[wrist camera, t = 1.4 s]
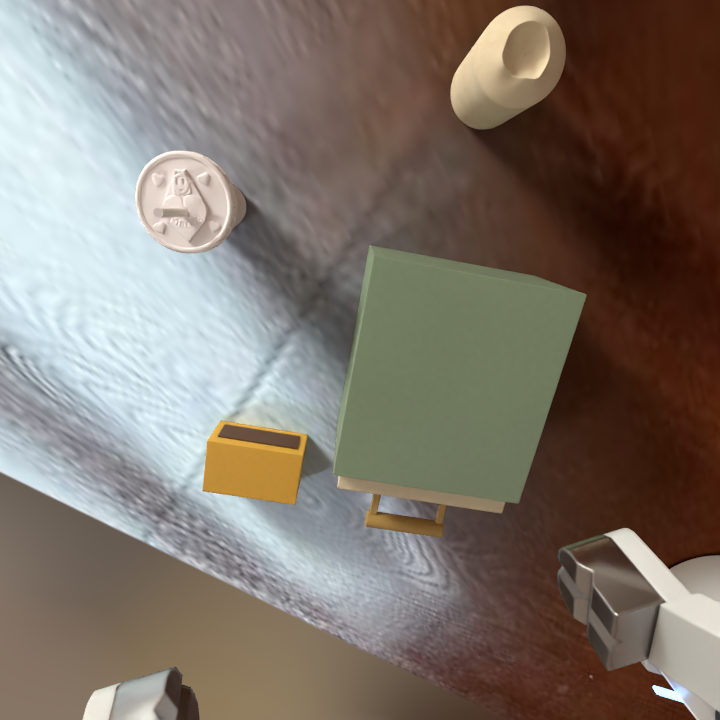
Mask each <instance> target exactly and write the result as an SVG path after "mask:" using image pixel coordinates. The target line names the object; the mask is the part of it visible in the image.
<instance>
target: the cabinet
mask: <svg viewBox="0 0 720 720" xmlns="http://www.w3.org/2000/svg"><path fill="white" fill-rule="evenodd" d="M586 296H587V295H586V294H584V293H581V292H578V291H575V290H572V289H570V288H567V287H564V286H561V285H559V284H556V283H553V282H550V281H547V280H545V279H542V278H539V277H536V276H533V275H527V274H522V273H517V272H511V271H506V270H500V269H495V268H490V267H484V266H479V265H474V264H468V263H463V262H457V261H452V260H447V259H441V258H436V257H431V256H425V255H420V254H414V253H409V252H404V251H398V250H393V249H388V248H382V247H377V246H371V245H370V247H369V252H368V258H367V263H366V269H365V274H364V279H363V285H362V290H361V296H360V301H359V307H358V312H357V318H356V323H355V329H354V334H353V340H352V345H351V351H350V356H349V362H348V367H347V372H346V378H345V383H344V389H343V394H342V400H341V405H340V411H339V416H338V423H337V434H336V446H335V457H334V469H333V475H336V476H343V477H349V478H356V479H362V480H369V481H375V482H382V483H388V484H394V485H401V486H407V487H414V488H420V489H427V490H433V491H440V492H446V493H452V494H459V495H465V496H472V497H478V498H485V499H491V500H498V501H504V502H510V503H517V504H518V503H519V501H520V498H521V495H522V492H523V489H524V485H525V482H526V479H527V476H528V473H529V470H530V467H531V464H532V461H533V458H534V455H535V452H536V449H537V446H538V443H539V440H540V437H541V434H542V430H543V427H544V424H545V421H546V418H547V415H548V412H549V409H550V406H551V403H552V400H553V397H554V394H555V391H556V388H557V385H558V382H559V378H560V375H561V372H562V369H563V366H564V363H565V360H566V357H567V354H568V351H569V348H570V345H571V342H572V339H573V336H574V333H575V330H576V326H577V323H578V320H579V317H580V314H581V311H582V308H583V305H584V302H585V299H586Z"/></svg>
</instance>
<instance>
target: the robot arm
mask: <svg viewBox="0 0 720 720" xmlns="http://www.w3.org/2000/svg"><path fill="white" fill-rule="evenodd" d="M558 560H559V561H560V563H561V564H562V567H561V569H560V570H559V571H558V572H557V582H558V586H559V590H560V593H561V596H562V598H563V600H564V602H565V604H566V606H567V608H568V610H569V611H570V613H571V614H572V616H573V618H575V619H576V620H578V621H580V622H581V623H583V624H585V625H587V639H588V641H589V643H590V644H591V646H592V647H593V649H594V650H595V652H596V653H597V655H598V656H599V658H600V659H601V661H602V663H603V664H604V666H605V667H606V669H607V670H608V671H610V670H614V669H617V668H620V667H624V666H627V665H630V664H634V663H637V662H640V661H641V663H642V664H643V665H644V667H645V668H646V669H647V670H648V671H650V672H653V673H657V674H661V675H663V676H664V677H665V679H666V680H667V681H668V683H669V684H670V685H671V687H672V688H673V689H674V691H675V692H674V691H671V690H668V689H664V688H661V687H658V686H655V685H654V686H653V689H654V691H655V692H656V694H657V695H660V696H664V697H667V698H670V699H674V700H677V701H680V702H683V703H684V704H685V705H686V706H687V708H688V709H689V710H690V712H691V713H692V714H693V716H694V717H695V718H696V719H697V720H720V555H714V556H704V557H699V558H695V559H691V560H688V561H685V562H683V563H680V564H678V565H676V566H674V567H672V568H670V569H668V568H667V567H666V566H665V564H664V563H663V562H662V561H661V560H660V559H659V558H658V557H657V556H656V555H655V554H654V553H653V552H652V551H651V549H650V548H649V547H648V546H647V545H646V544H645V543H644V542H643V541H642V540H641V539H640V538H639V537H638V535H637V534H636V533H635V532H634V531H632V530H630V529H629V528H622V529H619V530H616V531H612V532H609V533H606V534H601V535H598V536H595V537H592V538H589V539H586V540H583V541H580V542H577V543H574V544H571V545H568V546H565V547H562V548H561V549H560V550H559V551H558ZM182 676H183V675H182V674H181V673H180V672H179V670H178V669H177V668H176V667H173V668H170V669H167V670H163V671H160V672H157V673H153V674H150V675H147V676H143V677H140V678H137V679H134V680H130V681H127V682H122V683H119V684H116V685H112V686H109V687H106V688H103V689H100V690H97V691H94V693H93V694H92V696H91V698H90V699H89V701H88V703H87V706H86V710H85V713H84V717H83V720H199V711H198V710H199V709H198V702H197V699H196V696H195V693H194V692H193V690H192V689H191V688H190V687H188V686H185V685H182Z"/></svg>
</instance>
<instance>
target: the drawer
mask: <svg viewBox="0 0 720 720" xmlns="http://www.w3.org/2000/svg"><path fill="white" fill-rule="evenodd" d="M338 488H339V489H346V490H352V491H359V492H365V493H372V494H373V498H372V502H371V507H370V511H369V510H367V512H366V517H365V526H366V527H372V528H379V529H385V530H392V531H399V532H406V533H412V534H419V535H426V536H432V537H439V538H441V537H442V536H443V532H444V524H443V518H444V515H445V511H446V507H447V505H450V506H457V507H463V508H470V509H476V510H483V511H489V512H496V513H502V511H503V508H504V505H505V502H504V501H498V500H491V499H485V498H478V497H472V496H465V495H459V494H452V493H446V492H440V491H433V490H427V489H420V488H414V487H407V486H401V485H394V484H388V483H382V482H375V481H369V480H362V479H356V478H349V477H343V476H338ZM381 495H385V496H391V497H398V498H404V499H411V500H417V501H424V502H431V503H437V504H439V506H438V509H437V513H436V517H435V520H428V519H422V518H415V517H409V516H402V515H395V514H389V513H382V512H377V510H378V506H379V501H380V497H381Z"/></svg>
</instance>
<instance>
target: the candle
mask: <svg viewBox="0 0 720 720" xmlns="http://www.w3.org/2000/svg"><path fill="white" fill-rule="evenodd" d="M565 57H566V48H565V41H564V37H563V34H562V31H561V29H560V27H559V25H558V24H557V22H556V21H555V20H554V19H553V18H552V16H551V15H549V14H548V13H547V12H545V11H543V10H541V9H539V8H536V7H532V6H518V7H514V8H511V9H509V10H506V11H505V12H503V13H501V14H500V15H498V16H497V17H496V18H495V19H494V20H493V21H492V22H491V23H490V24H489V26H488V27H487V28H486V30H485V31H484V32H483V34H482V35H481V36H480V38H479V39H478V41H477V42H476V43H475V45H474V46H473V48H472V49H471V50H470V52H469V53H468V55H467V56H466V57H465V59H464V60H463V62H462V63H461V64H460V66H459V68H458V69H457V71H456V73H455V75H454V78H453V81H452V85H451V102H452V106H453V109H454V111H455V113H456V115H457V116H458V118H459V119H460V120H461V121H462V122H463V123H464V124H466V125H467V126H469V127H472V128H475V129H484V130H485V129H491V128H494V127H497V126H499V125H501V124H503V123H504V122H506V121H508V120H509V119H511V118H513V117H514V116H516V115H518V114H519V113H521V112H523V111H524V110H526V109H528V108H529V107H531V106H533V105H535V104H536V103H538V102H540V101H541V100H542V99H544V98H545V97H546V96H547V95H548V94H549V93H550V92H551V91H552V90H553V88H554V87H555V86H556V84H557V82H558V80H559V78H560V76H561V74H562V71H563V68H564V64H565Z"/></svg>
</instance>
